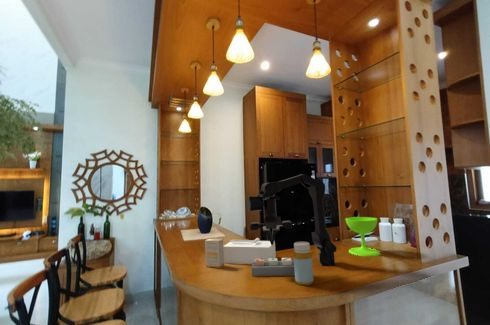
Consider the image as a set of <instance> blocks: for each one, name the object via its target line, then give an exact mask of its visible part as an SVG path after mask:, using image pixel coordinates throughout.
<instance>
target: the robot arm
mask: <svg viewBox="0 0 490 325" xmlns="http://www.w3.org/2000/svg"><path fill="white" fill-rule="evenodd" d="M299 184H301V185H303V186H304V187H305V188H307V190H308V194H309V196H310V197H311V199H312V208H313V216H314V226H315V229H314V232H311V241H312V243H313V244H314V246H316V249H317V250H318V251H319V252H318V254H317V255H318V262H319V264H320V265H321V266H323V267H324V266H326V267H327V266H336V265H337V263H336V261H335V253H336V252H337V246H336V245H335V244H334V243H333V242H332V241H331V236H330V233H329V232H328V230H327V226H326V217H325V216H326V215H325V207H324V197H325V194H326V184H325V182H324V181H323V180H318V179H316V178H314V177H311V176H309V175H308V174H306V173H301V174H298V175H295V176H293V177H289V178H286V179H285V178H284V179H283V180H279V181H273V182H264V183H262V184H261V187H260V191H259V193H258V194H257V195H256V196H254V195H253V196H252V195H248V196H247V200H246V209H247V211H248V213H249V212H250V213H251V212H259V211H260V212H261V211H262V209H263V222H264V223H260V221H254V222H253V221H252V222H251V223H250V225H249V227H250V228H249V230H250V231H258V230H259V229H261V228H262V231H263V233H264V232H265V234H266V235H267V237H268V241H270V243H271V245H273V243H274V241H275V239H276V238H275V237H276V234H277V232H280V228H284V229H285V230H288V229H290V230H291V229H293V224H292V222H291V220H283V221H282V219H281V216H278V215H277V202H276V200H281V198H280V197H279V196H278V195H277V193H278V192H281V191H282V190H283V189H287V188H289V187H292V186H295V185H299ZM270 229H272V232H271V230H270Z"/></svg>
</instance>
